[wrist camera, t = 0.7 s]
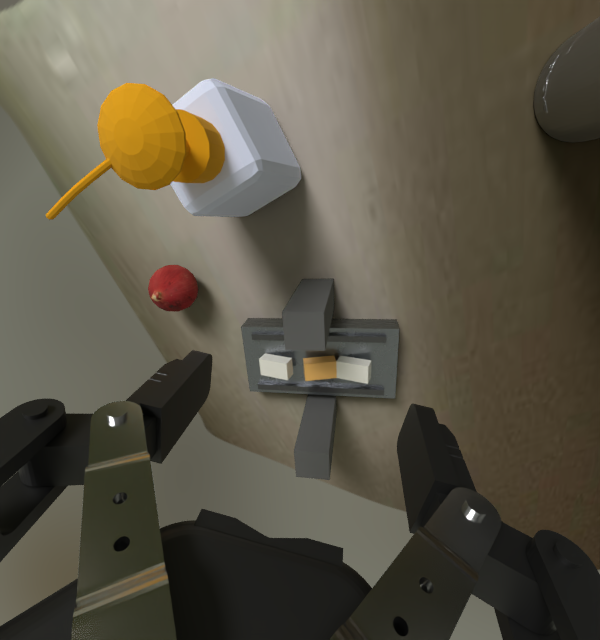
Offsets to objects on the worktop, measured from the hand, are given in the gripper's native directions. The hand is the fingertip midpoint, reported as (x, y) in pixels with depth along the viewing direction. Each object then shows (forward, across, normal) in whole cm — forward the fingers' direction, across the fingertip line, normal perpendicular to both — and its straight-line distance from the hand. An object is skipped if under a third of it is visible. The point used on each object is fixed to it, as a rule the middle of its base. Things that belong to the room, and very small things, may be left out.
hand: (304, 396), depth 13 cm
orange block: (+27, 0, +14) cm, 30 cm away
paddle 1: (+27, +4, +15) cm, 31 cm away
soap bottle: (+30, +14, -7) cm, 34 cm away
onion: (+30, +20, +8) cm, 37 cm away
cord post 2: (+30, -2, +22) cm, 37 cm away
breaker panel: (+30, 0, +14) cm, 33 cm away
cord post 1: (+30, +2, +6) cm, 30 cm away
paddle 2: (+27, -5, +13) cm, 30 cm away
